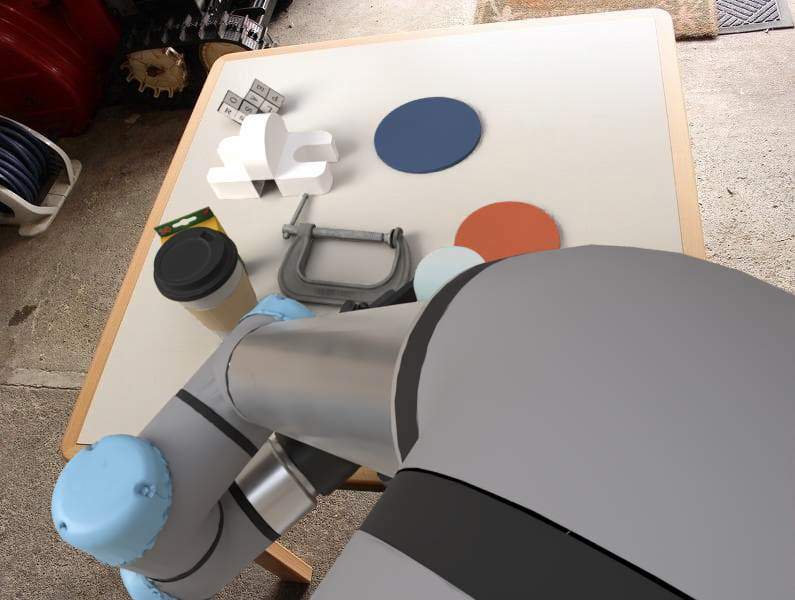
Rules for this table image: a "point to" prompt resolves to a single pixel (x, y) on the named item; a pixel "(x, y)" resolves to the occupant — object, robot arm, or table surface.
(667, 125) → the table surface
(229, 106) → the building blocks
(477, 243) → the terracotta mat
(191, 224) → the crayon box
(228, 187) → the u-slot mount
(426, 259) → the pale blue cylinder
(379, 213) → the table surface
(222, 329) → the coffee cup
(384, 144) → the slate-blue mat
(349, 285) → the c clamp
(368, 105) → the table surface
